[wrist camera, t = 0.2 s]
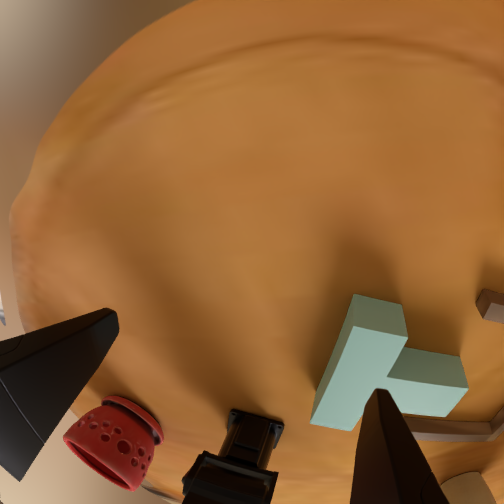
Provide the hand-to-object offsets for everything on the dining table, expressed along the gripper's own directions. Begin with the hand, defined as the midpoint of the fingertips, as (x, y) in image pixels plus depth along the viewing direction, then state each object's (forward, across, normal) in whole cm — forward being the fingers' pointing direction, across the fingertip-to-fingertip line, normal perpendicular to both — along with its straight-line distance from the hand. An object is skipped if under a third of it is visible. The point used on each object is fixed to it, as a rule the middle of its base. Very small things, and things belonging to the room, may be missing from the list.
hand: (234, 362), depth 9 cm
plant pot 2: (+14, +19, +36) cm, 44 cm away
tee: (+14, -11, +11) cm, 21 cm away
